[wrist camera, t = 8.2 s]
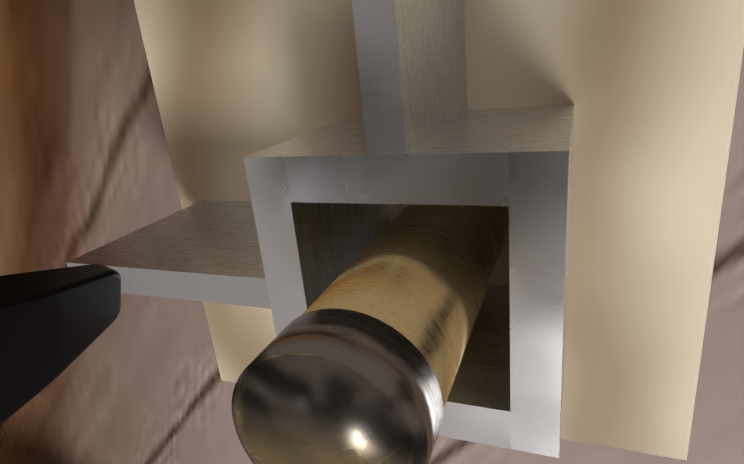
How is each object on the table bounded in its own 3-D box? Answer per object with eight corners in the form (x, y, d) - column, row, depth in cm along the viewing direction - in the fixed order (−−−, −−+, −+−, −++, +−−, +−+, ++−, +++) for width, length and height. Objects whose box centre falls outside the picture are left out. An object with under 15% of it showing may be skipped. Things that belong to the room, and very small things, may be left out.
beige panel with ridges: (776, -332, 11) (1057, -851, 4) (679, 428, 18) (734, 663, 11) (134, -139, 18) (-129, -236, 11) (240, 361, 24) (115, 483, 18)
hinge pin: (510, 170, 15) (414, 365, 7) (511, 266, 16) (429, 544, 8) (409, 171, 16) (214, 337, 8) (416, 260, 17) (250, 497, 9)
